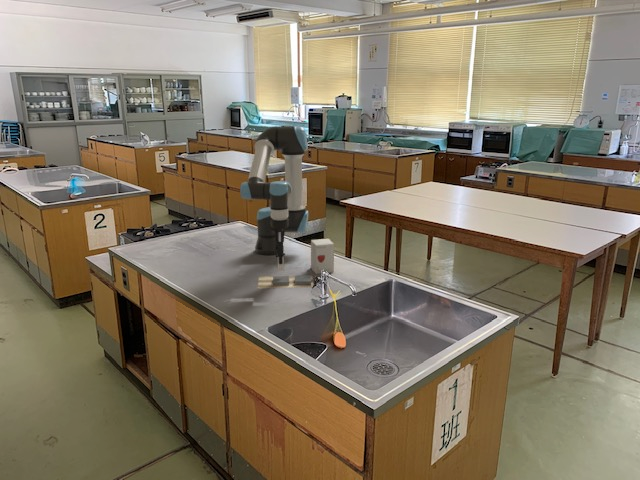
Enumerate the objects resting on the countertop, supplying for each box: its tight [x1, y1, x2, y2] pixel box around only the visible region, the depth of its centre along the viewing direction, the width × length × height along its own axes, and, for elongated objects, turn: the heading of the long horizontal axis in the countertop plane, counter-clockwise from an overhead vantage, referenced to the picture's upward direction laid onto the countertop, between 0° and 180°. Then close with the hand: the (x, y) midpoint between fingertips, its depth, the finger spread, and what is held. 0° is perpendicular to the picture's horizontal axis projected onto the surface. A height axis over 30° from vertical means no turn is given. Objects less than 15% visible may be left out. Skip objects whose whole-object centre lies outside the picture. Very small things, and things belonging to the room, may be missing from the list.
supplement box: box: [310, 238, 335, 274], centre depth 228 cm, size 9×9×15 cm
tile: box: [273, 275, 290, 286], centre depth 214 cm, size 2×7×7 cm
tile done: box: [294, 274, 312, 285], centre depth 214 cm, size 7×7×2 cm
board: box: [257, 274, 314, 289], centre depth 215 cm, size 14×24×1 cm, turn 93°
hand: (280, 270), depth 216 cm, fingers closed
